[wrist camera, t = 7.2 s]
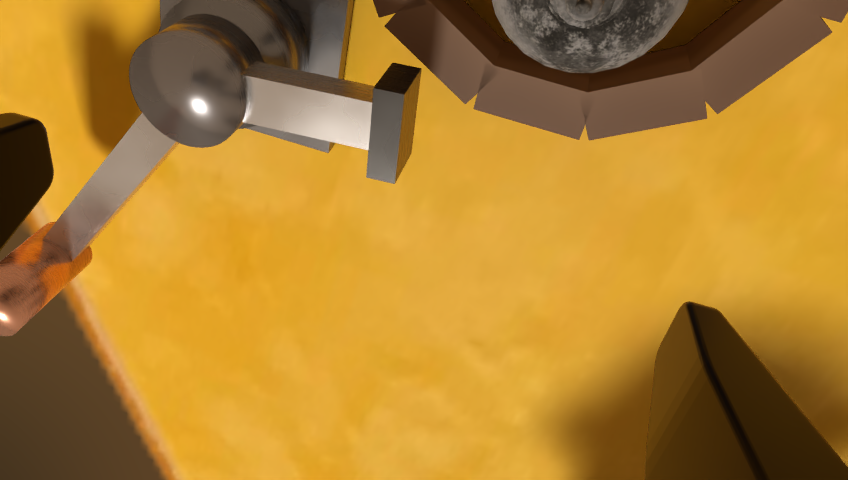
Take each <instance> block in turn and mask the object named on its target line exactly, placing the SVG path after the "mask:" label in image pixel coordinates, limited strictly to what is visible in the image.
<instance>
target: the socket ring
mask: <svg viewBox="0 0 848 480" xmlns="http://www.w3.org/2000/svg"><path fill="white" fill-rule="evenodd" d="M373 2H374V5H375V8H376V10H377V13H378V16H379V17H383V16H387V15H390V14H394V13H396V14H395V15H394V16H393V17H392V18H391V19H390V20H389V22H388V23H387V24H386V25H385V27H386V28H387V29H388V30H389V31H390V32H391V33H392V34H393V35H394V36H395V37H396V38H397V39H398V40H399V41H400V42H401V43H402V44H403V45H405V46H406V47H407V48H408V49H409V50H410V51H411V52H412V53H413V54H414V55H415V56H416V57H417V58H418V59H419V60H420V61H421V62H422V63H423V64H424V65H425V66H426V67H427V68H428V69H429V70H430V71H431V72H432V73H433V74H435V75H436V76H437V77H438V78H439V79H440V80H441V81H442V82H443V83H444V84H445V85H446V86H447V87H448V88H449V89H450V90H451V91H452V92H453V93H454V94H455V95H456V96H457V97H458V98H459V99H460V100H461V101H462V102H464V103H465V104H466V103H467V102H468V101H470V100H471V99H472V98H473V97H474V96H475V95H476V94H477V93H478V94H477V98H476V102H475V105H474V109H475V110H479V111H482V112H485V113H489V114H492V115H496V116H499V117H503V118H506V119H509V120H513V121H516V122H520V123H523V124H526V125H530V126H533V127H537V128H540V129H544V130H547V131H550V132H554V133H557V134H561V135H564V136H568V137H571V138H574V139H578V140H579V139H580V136H581V134H582V131H583V129H584V126H585V125H586V129H587V134H588V139H589V140H594V139H599V138H604V137H610V136H615V135H621V134H626V133H632V132H637V131H642V130H648V129H653V128H659V127H664V126H669V125H675V124H680V123H686V122H691V121H697V120H702V119H707V112H706V104H705V101H706V102H707V103H708V104H709V105H710V107H711V108H712V109H713V110H714V111H715V112H716V113H717V114H718V113H720V112H721V111H723V110H724V109H725V108H727V107H728V106H730V105H731V104H733V103H734V102H735V101H737V100H738V99H740V98H741V97H742V96H744V95H745V94H747V93H748V92H749V91H751V90H752V89H754V88H755V87H756V86H758V85H759V84H761V83H762V82H763V81H765V80H766V79H768V78H769V77H770V76H772V75H773V74H775V73H776V72H777V71H779V70H780V69H782V68H783V67H784V66H786V65H787V64H789V63H790V62H791V61H793V60H794V59H796V58H797V57H798V56H800V55H801V54H803V53H804V52H806V51H807V50H808V49H810V48H811V47H813V46H814V45H815V44H817V43H818V42H820V41H821V40H822V39H824V38H825V37H827V36H828V35H829V34H831V33H832V31H831V30H830V28H829V27H828V26H827V24H826V23H825V22H824V21H823V19H822V18H821V17H823V18H826V19H830V20H834V21H837V22H842V21H843V19H844V17H845V15H846V14H847V12H848V0H741V1H740V2H739V3H738V4H736V5H735V6H734V7H733V8H731V9H730V10H729V11H728V12H726V13H725V14H724V15H723V16H721V17H720V18H719V19H718V20H716V21H715V22H714V23H713V24H711V25H710V26H709V27H708V28H706V29H705V30H704V31H703V32H701V33H700V34H699V35H698V36H696V37H695V38H694V39H693V40H691V41H690V42H689V43H688V44H686V45H683V46H679V47H674V48H670V49H665V50H661V51H656V52H652V53H647V54H644V55H642V56H640V57H638V58H636V59H634V60H632V61H630V62H628V63H626V64H624V65H622V66H620V67H618V68H613V69H609V70H604V71H600V72H596V73H568V72H564V71H561V70H558V69H554V68H551V67H547V66H544V65H542V64H541V63H539V62H537V61H536V60H534V59H532V58H531V57H529V56H528V55H526V54H524V53H523V52H522V51H521V50H520V49H519V48H518V47H517V46H516V45H515V44H511V43H507V42H504V41H503V40H502V39H501V38H500V37H499V36H498V35H497V34H496V33H495V32H494V31H493V30H492V29H491V28H490V27H489V26H488V25H487V24H486V23H485V22H484V20H483V19H482V18H481V17H480V16H479V15H478V14H477V13H476V12H475V11H474V10H473V9H472V8H471V7H470V6H469V5H468V4H467V3H466V2H465V1H464V0H373Z"/></svg>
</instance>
